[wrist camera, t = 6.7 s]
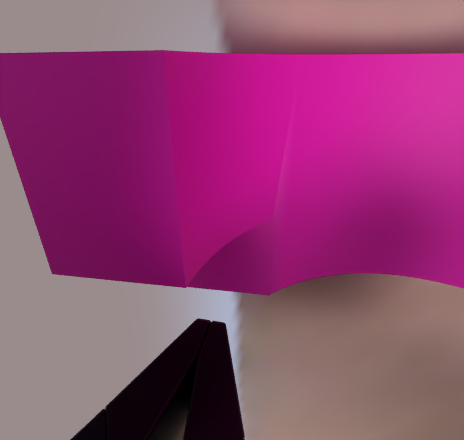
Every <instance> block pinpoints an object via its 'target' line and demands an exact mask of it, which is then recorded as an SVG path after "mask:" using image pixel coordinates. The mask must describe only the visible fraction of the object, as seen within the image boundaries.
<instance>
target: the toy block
mask: <svg viewBox="0 0 464 440" xmlns="http://www.w3.org/2000/svg"><path fill="white" fill-rule="evenodd" d="M0 118H1V121H2V124H3V127H4V130H5V133H6V136H7V139H8V142H9V145H10V148H11V151H12V154H13V157H14V160H15V163H16V166H17V169H18V172H19V175H20V178H21V181H22V184H23V187H24V190H25V193H26V196H27V199H28V202H29V205H30V209H31V212H32V215H33V217H34V221H35V224H36V226H37V230H38V232H39V236H40V239H41V242H42V245H43V248H44V250H45V254H46V257H47V260H48V263H49V266H50V269H51V272H52V274H57V275H66V276H76V277H86V278H96V279H106V280H115V281H125V282H134V283H144V284H154V285H164V286H174V287H183V288H186V287H194V288H203V289H214V290H223V291H233V292H242V293H252V294H262V295H270V294H272V293H274V292H276V291H278V290H280V289H282V288H285V287H287V286H290V285H293V284H295V283H298V282H302V281H306V280H309V279H313V278H318V277H324V276H329V275H338V274H351V273H378V274H391V275H401V276H408V277H415V278H421V279H426V280H431V281H436V282H440V283H444V284H448V285H453V286H457V287H461V288H464V53H438V54H235V53H203V52H182V51H166V50H155V51H102V52H47V53H0Z"/></svg>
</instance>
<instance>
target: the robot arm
mask: <svg viewBox="0 0 464 440" xmlns="http://www.w3.org/2000/svg"><path fill="white" fill-rule="evenodd" d="M244 438H245V435H244V429H243V423H242V418H241V412H240V406H239V400H238V394H237V388H236V382H235V376H234V370H233V364H232V358H231V353H230V346H229V341H228V335H227V329H226V324H225V323H223V322H217V321H212V322H211V321H210V320H204V319H196V320H195V321H194V322H193V323H192V324H191V325H190V326H189V327H188V328H187V329H186V330H185V331H184V332H183V333H182V334H181V335H180V336H179V337H178V338H177V339H176V340H174V342H172V343H171V344H170V345H169V346H168V347H167V348H166V349H165V350H164V351H163V352H162V353H161V354H160V355H159V356H158V357H157V358H156V359H155V360H154V361H153V362H152V363H151V364H149V365H148V366H147V367H146V369H144V370H143V371H142V372H141V373H140V374H139V375H138V376H137V377H136V378H135V379H134V380H133V381H132V382H131V383H130V384H129V385H128V386H127V387H126V388H125V389H123V390H122V391H121V392H120V393H119V394H118V396H116V397H115V398H114V399H113V400H112V401H111V402H110V403H109V404H108V405H107V406H106V409H103V410H101V411H100V413H98V414H97V415H96V416H95V417H94V418H93V419H92V420H91V421H90V422H89V423H88V424H87V425H86V426H85V427H84V428H82V429H81V430H80V431H79V432H78V433H77V434H76V435H75V436H74V437H73V438H72V439H71V440H245V439H244Z"/></svg>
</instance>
